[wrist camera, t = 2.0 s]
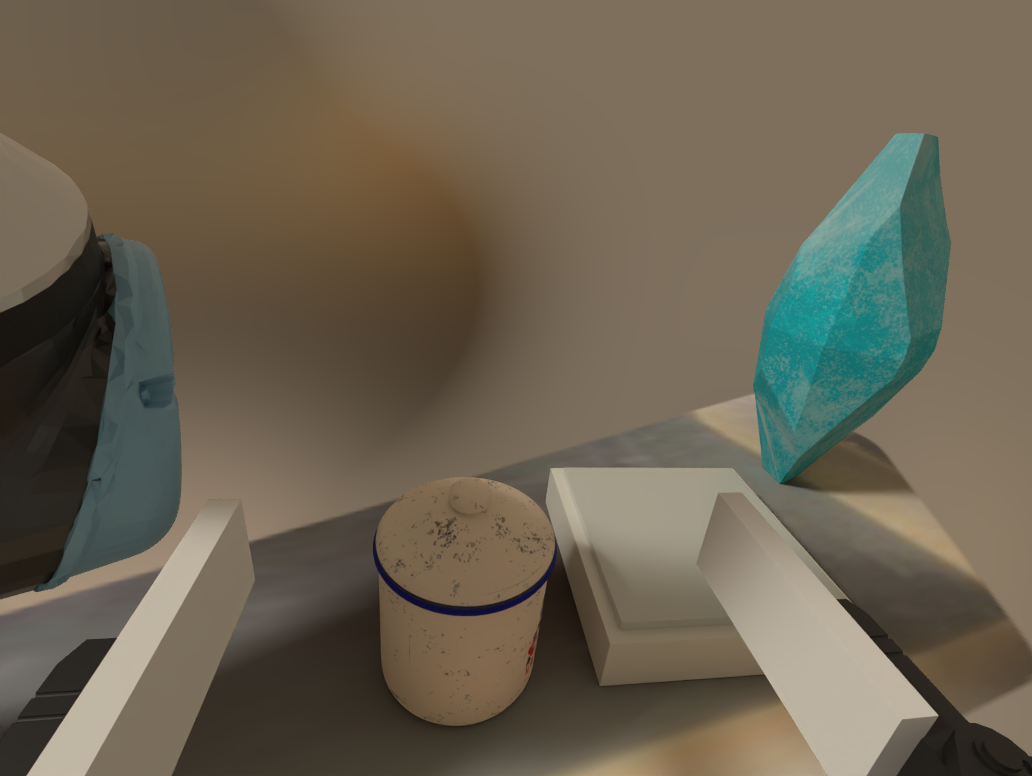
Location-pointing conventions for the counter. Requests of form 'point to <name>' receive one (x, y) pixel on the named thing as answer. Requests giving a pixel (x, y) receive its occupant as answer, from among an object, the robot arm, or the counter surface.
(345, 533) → the counter surface
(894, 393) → the crystal
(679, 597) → the plinth
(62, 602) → the counter surface
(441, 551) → the teacup with lid
